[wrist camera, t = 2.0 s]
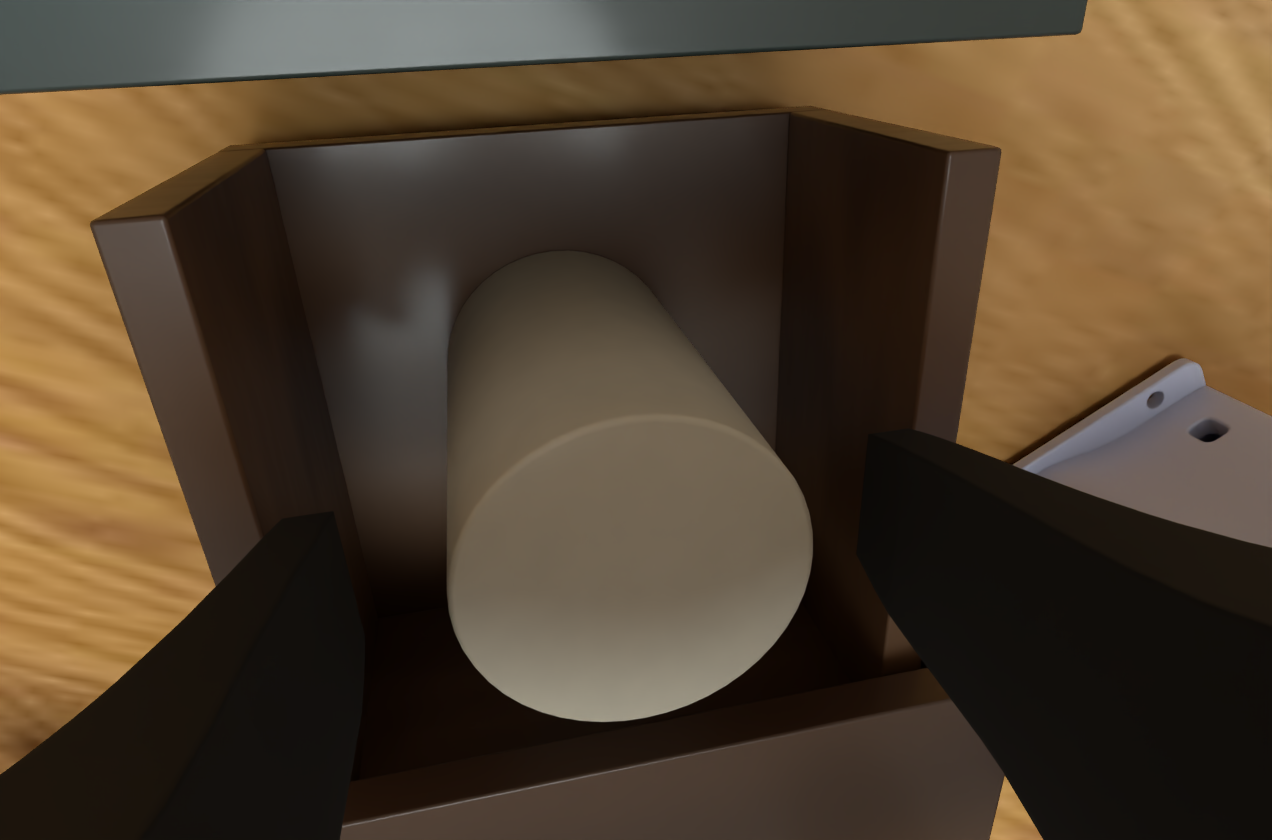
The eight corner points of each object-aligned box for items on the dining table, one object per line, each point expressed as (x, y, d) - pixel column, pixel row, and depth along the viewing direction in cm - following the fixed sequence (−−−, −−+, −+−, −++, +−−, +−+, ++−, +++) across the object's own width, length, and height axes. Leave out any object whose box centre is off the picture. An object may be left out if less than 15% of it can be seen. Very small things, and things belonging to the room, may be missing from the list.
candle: (593, 201, 15) (704, 336, 9) (709, 379, 17) (871, 596, 11) (398, 339, 15) (360, 570, 9) (536, 496, 18) (588, 776, 11)
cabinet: (281, 527, 19) (170, 861, 11) (821, 449, 21) (1027, 684, 14) (392, 908, 25) (368, 1279, 18) (794, 817, 28) (924, 1113, 20)
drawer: (48, -361, 11) (-403, -796, 5) (867, -336, 13) (1208, -631, 7) (323, 623, 19) (267, 892, 13) (808, 543, 21) (949, 745, 15)
